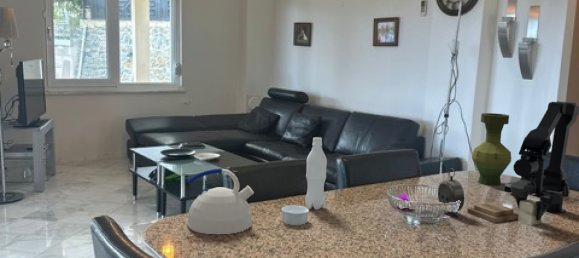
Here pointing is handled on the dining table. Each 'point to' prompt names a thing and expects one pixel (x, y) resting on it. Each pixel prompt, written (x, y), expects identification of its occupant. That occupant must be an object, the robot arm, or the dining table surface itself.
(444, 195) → the alarm clock
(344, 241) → the dining table surface
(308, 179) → the water bottle
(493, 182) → the vase
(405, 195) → the crystal
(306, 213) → the ramekin
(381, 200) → the dining table surface
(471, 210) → the plinth
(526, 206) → the block
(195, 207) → the kettle
